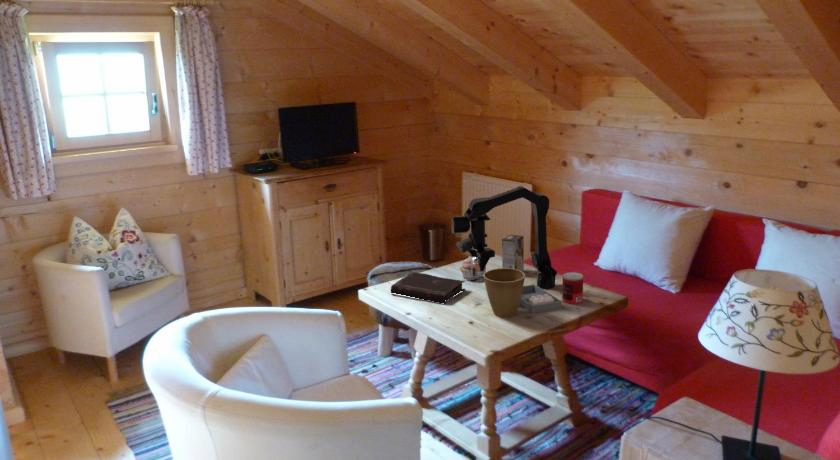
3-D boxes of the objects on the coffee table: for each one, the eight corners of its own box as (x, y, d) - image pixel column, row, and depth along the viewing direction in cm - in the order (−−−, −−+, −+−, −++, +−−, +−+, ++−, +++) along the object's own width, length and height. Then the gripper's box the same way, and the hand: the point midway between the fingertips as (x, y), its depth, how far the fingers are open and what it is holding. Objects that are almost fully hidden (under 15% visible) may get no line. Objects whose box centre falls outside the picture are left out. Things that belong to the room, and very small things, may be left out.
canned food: (583, 299, 257) (584, 272, 254) (581, 307, 250) (582, 279, 247) (563, 298, 260) (564, 271, 257) (560, 305, 252) (561, 278, 250)
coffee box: (510, 268, 297) (510, 234, 293) (524, 270, 294) (524, 235, 290) (501, 274, 290) (501, 239, 286) (515, 276, 287) (515, 240, 282)
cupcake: (469, 273, 293) (469, 251, 290) (485, 277, 286) (485, 255, 284) (455, 278, 287) (454, 256, 284) (471, 283, 280) (470, 260, 278)
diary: (444, 306, 258) (444, 294, 257) (390, 296, 271) (390, 285, 269) (466, 290, 273) (465, 279, 272) (414, 282, 286) (413, 271, 284)
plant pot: (481, 309, 252) (480, 269, 247) (519, 306, 253) (519, 267, 248) (488, 324, 237) (487, 282, 233) (529, 321, 238) (529, 279, 234)
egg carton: (547, 303, 253) (547, 292, 252) (554, 307, 248) (554, 296, 247) (528, 306, 250) (528, 295, 249) (535, 310, 246) (535, 299, 245)
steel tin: (482, 270, 268) (482, 254, 266) (488, 275, 263) (488, 258, 261) (469, 272, 266) (469, 256, 264) (475, 277, 261) (474, 260, 259)
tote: (534, 292, 267) (534, 284, 266) (561, 310, 248) (561, 301, 247) (506, 296, 263) (506, 288, 262) (531, 315, 244) (531, 306, 243)
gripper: (450, 228, 266) (451, 265, 270) (468, 239, 249) (469, 279, 253) (475, 225, 270) (476, 261, 274) (495, 236, 252) (495, 274, 256)
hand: (478, 269), depth 264 cm, fingers closed on steel tin, 6 cm apart
